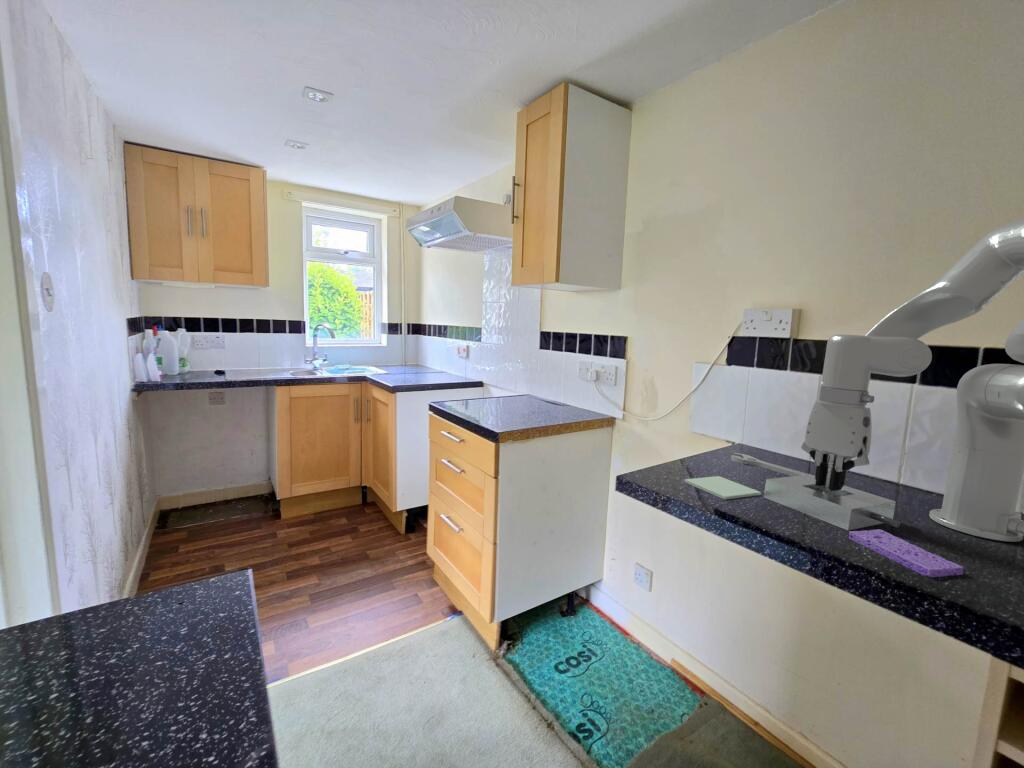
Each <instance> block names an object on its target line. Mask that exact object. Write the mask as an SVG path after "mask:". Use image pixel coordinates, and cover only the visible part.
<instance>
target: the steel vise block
mask: <svg viewBox="0 0 1024 768" xmlns="http://www.w3.org/2000/svg"><path fill="white" fill-rule="evenodd" d="M812 475H813V474H810V475H800V476H785V477H776V478H774V477H773V478H766V479H765V485H764V492H763V493H764V494H763V498H765V499H767V500H770V501H772V502H775V503H777V504H779V505H783V506H785V507H787V508H789V509H792V510H794V511H798V512H800V513H803V514H805V515H808V516H811V517H813V518H816V519H818V520H820V521H823V522H826V523H829V524H831V525H833V526H836V527H838V528H841V529H843V530H846V531H851V530H852V531H854V530H857V529H861V528H866V527H871V526H872V527H873V526H877V525H880V524H881V525H882V524H886V525H889V526H892V527H895V528H899V527H901V521H900V520H897V519H894V514H895V509H896V502H897V501H896V500H892V499H890V498H889V499H888V498H886V497H882V496H880V495H876V494H872V493H870V492H867V491H863V490H860V489H857V488H853V487H850V486H847V485H844V486H843V487H842V489H841V490H835V491H832V492H833V493H832V495H833V496H831V495H828V494H825V493H823V488H824V487H823V486H824V485H823V486H817V485H815V483H816V480H815V475H814V476H812Z"/></svg>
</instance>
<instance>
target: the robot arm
mask: <svg viewBox="0 0 1024 768" xmlns="http://www.w3.org/2000/svg"><path fill="white" fill-rule="evenodd" d="M1023 273H1024V219H1021V220H1020V219H1019V220H1016V221H1014V222H1010V223H1006V224H1003V225H1001V226H997V228H994V229H992V230H991V231H989V232H988V233H987V234H985V235H984V236H983V237H982V238H981V239H980V240H979V241H978V242H977V243H976V244H974V246H971V248H970V249H969V250H968V251H966V253H965V254H964V255H962V257H961V258H960V259H959V260H958V261H956V262H955V264H953V265H952V266H951V267H950V268H949V269H948V270H947V271H946V272H945V273H944V274H943V275H942V276H941V277H940V278H939V279H937V280H936V281H935V282H934V283H932V285H930V286H929V287H928V288H926V289H924V290H923V291H921V292H920V293H918V294H916V295H915V296H913V297H911V299H909V300H908V301H907V302H905V303H904V304H902V305H900V306H899V307H897V308H896V309H894V310H893V311H891V312H890V313H888V314H887V315H885V317H883V318H882V319H881V320H880V321H879V322H877V323H876V324H875V325H874V326H873V327H872V328H871V329H870V330H869V331H868V332H867V333H866V334H864V335H859V334H834V335H831V336H830V337H829V338H828V339H827V343H826V347H825V356H824V361H823V368H822V375H821V376H822V377H821V382H820V387H819V394H818V395H819V396H818V400H815V401H814V404H813V407H812V409H811V410H810V411H811V412H810V415H809V418H808V421H807V425H806V430H805V436H804V441H803V443H802V445H801V446H800V448H801V450H803V451H804V452H806V453H807V454H809V455H810V457H811V459H812V460H813V463H814V465H815V466H816V469H815V475H814V476H815V480H816V483H815V485H817V486H823V485H824V484H823V483H824V482H825V481H824V480H825V475H826V473H825V472H826V469H827V467H826V466H827V462H828V458H829V455H830V454H834V455H837V459H836V465H835V470H832V471H831V477H830V484H829V489H830V490H832V491H835V490H841V489H842V487H843V486H845V481H846V473H847V472H848V471H850V470H851V469H853V468H855V467H862V466H868V465H870V460H869V454H870V451H871V444H872V428H873V427H872V423H873V422H872V413H871V412H872V411H871V408H870V407H866V405H867V404H868V403H874V401H875V396H874V395H870V393H869V385H870V379H871V374H878V375H885V376H890V377H899V378H902V377H912V376H914V375H915V376H916V375H917V374H920V373H922V372H923V371H924V370H925V371H926V369H927V368H928V367H929V365H930V364H931V362H932V360H933V359H932V358H933V355H932V350H931V349H930V347H929V346H928V345H927V343H925V342H924V341H922V340H920V338H922V337H924V336H925V335H927V334H929V333H930V332H932V331H935V330H937V329H940V328H943V327H944V326H948V325H951V324H955V323H957V322H959V321H963V320H965V319H968V318H970V317H971V316H974V315H976V314H978V313H980V312H981V311H982V310H984V309H985V308H986V307H987V306H988V305H989V304H990V303H991V302H992V301H993V300H995V299H996V297H998V296H999V295H1000V294H1001V293H1003V291H1004V290H1005V289H1007V288H1008V287H1009V286H1010V285H1011V284H1012V283H1013V282H1014V281H1015V280H1017V279H1018V278H1019V277H1020V276H1022V274H1023ZM1004 349H1005V352H1006V354H1007V356H1009V357H1010V358H1011V359H1012V360H1014V361H1017V362H1019V363H1022V364H1011V363H990V364H983V365H978V366H976V367H974V368H972V369H970V370H968V371H967V372H965V373H964V374H963V375H962V377H961V378H960V379H959V381H958V384H957V388H956V407H957V408H956V409H957V417H956V418H957V419H956V429H955V435H954V439H953V440H954V441H953V444H952V451H951V457H950V463H949V467H948V473H947V478H946V483H945V487H944V492H943V498H942V503H941V504H942V505H941V508H933V509H931V510H930V511H929V515H928V516H929V517H930V519H932V520H933V521H934V522H936V523H938V524H940V525H942V526H944V527H947V528H948V529H949V528H950V529H952V530H955V531H957V532H961V533H965V534H968V535H971V536H975V537H979V538H984V539H988V540H993V541H999V542H1009V543H1012V542H1013V543H1018V542H1021V541H1023V540H1024V520H1023V519H1022V513H1020V512H1017V511H1016V509H1017V503H1018V501H1019V496H1020V495H1019V494H1020V490H1021V486H1022V485H1021V484H1022V481H1023V475H1024V316H1023V317H1022V318H1021V320H1020V321H1019V322H1018V323H1017V324H1016V326H1014V328H1012V330H1011V331H1010V332H1009V334H1008V336H1007V337H1006V340H1005V342H1004ZM854 458H856V459H854Z"/></svg>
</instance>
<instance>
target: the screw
mask: <svg viewBox="0 0 1024 768" xmlns="http://www.w3.org/2000/svg"><path fill="white" fill-rule="evenodd" d="M836 459H837V455H834V454H830V455H829V458H828V462H827V466H826V467H827V469H826V472H825V473H826V475H825V480H824V481H825V482H824V483H823V484H824V486H823V487H824V488H823V493H825V494H828V495H831V496H833V495H832V493H833V492H832V490H830V489H829V484H830V477H831V471H832V470H835V465H836Z"/></svg>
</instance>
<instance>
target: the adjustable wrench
mask: <svg viewBox="0 0 1024 768" xmlns="http://www.w3.org/2000/svg"><path fill="white" fill-rule="evenodd" d="M730 461H733V462H735V463H739V464H742V465H751V466H754V467H755V466H756V467H760V468H762V469H767V470H771V471H774V472H777V473H780V474H784V475H788V476H789V477H791V476H800V475H812V476H815V475H814V474H810V473H807V472H803V471H799V470H795V469H793V468H788V467H784V466H781V465H778V464H774V463H770V462H767V461H762V460H760V459H758V458H756V457H753V456H752V455H749V454H745V453H737V452H734V453H732V455H730Z"/></svg>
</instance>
